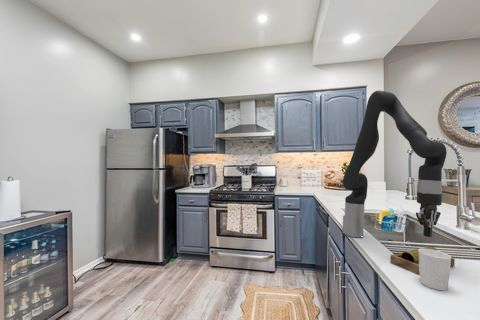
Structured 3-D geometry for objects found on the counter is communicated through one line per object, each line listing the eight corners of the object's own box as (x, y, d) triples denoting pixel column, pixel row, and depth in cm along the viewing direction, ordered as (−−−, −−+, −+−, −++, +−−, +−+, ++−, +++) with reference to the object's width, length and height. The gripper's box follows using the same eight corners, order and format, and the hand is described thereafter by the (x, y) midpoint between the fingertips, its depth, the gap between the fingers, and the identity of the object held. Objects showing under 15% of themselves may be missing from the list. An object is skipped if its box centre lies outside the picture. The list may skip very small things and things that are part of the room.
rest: (390, 262, 87) (390, 255, 87) (421, 255, 96) (422, 248, 96) (422, 276, 78) (422, 267, 78) (454, 266, 86) (454, 258, 87)
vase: (445, 258, 85) (420, 263, 80) (432, 265, 89) (407, 270, 84) (431, 243, 90) (407, 247, 84) (420, 250, 93) (396, 254, 88)
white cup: (411, 277, 76) (412, 247, 76) (435, 279, 76) (436, 249, 76) (430, 291, 68) (431, 257, 68) (457, 292, 68) (458, 259, 68)
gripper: (427, 190, 95) (425, 232, 95) (408, 190, 89) (406, 235, 89) (450, 193, 88) (448, 237, 88) (431, 193, 82) (429, 241, 82)
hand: (427, 236), depth 88 cm, fingers closed
